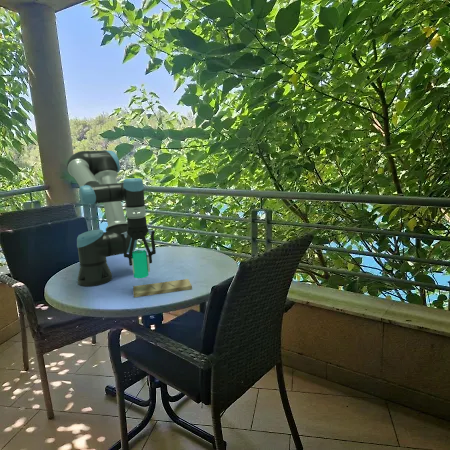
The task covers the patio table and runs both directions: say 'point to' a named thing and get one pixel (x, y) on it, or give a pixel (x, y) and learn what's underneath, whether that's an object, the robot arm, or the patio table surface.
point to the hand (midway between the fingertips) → (141, 271)
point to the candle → (140, 263)
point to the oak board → (161, 288)
